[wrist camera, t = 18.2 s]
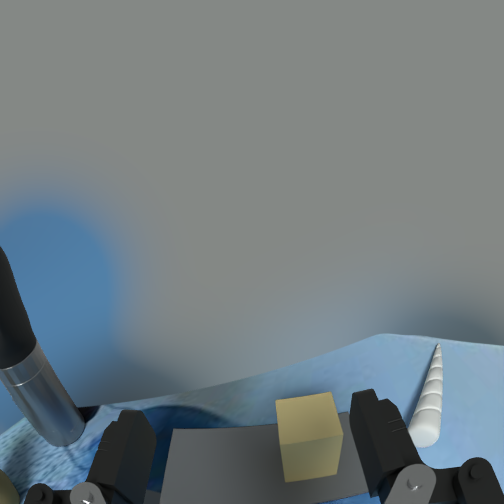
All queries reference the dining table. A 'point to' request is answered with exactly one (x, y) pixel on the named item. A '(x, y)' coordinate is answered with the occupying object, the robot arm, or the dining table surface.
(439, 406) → the unicorn horn
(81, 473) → the dining table surface
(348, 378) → the dining table surface
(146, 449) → the robot arm
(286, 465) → the tall cream block
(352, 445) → the mat
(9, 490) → the squeeze bottle
